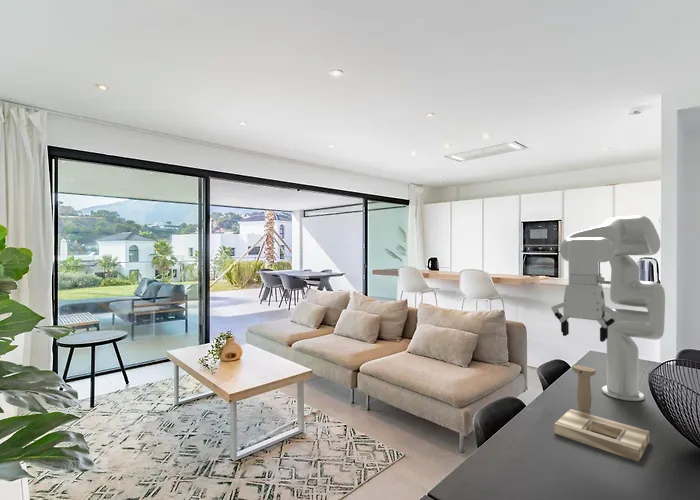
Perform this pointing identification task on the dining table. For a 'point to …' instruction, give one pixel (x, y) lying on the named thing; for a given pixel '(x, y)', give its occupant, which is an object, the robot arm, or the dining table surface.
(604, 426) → the board
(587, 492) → the dining table surface
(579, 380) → the handle
